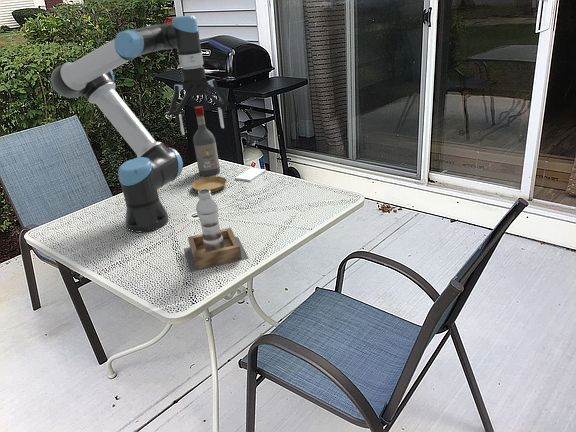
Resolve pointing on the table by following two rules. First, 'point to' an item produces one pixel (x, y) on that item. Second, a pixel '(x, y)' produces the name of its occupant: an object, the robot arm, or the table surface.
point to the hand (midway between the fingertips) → (203, 130)
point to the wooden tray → (215, 256)
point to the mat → (193, 268)
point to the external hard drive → (250, 174)
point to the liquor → (205, 147)
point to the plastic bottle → (209, 221)
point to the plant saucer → (209, 183)
